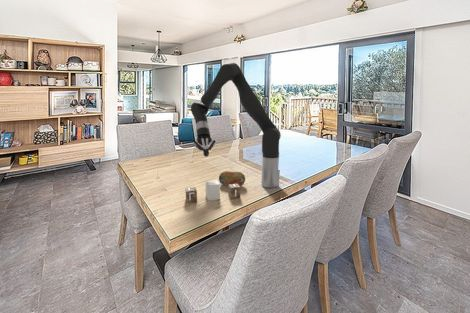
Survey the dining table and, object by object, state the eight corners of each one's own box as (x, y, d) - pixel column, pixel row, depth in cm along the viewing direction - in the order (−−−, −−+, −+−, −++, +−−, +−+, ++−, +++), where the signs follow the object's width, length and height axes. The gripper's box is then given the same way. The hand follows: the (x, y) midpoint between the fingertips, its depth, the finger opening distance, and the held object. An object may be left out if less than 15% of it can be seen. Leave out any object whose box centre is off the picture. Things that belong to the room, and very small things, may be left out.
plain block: (217, 194, 141) (216, 180, 139) (219, 199, 136) (219, 184, 134) (205, 195, 139) (205, 181, 137) (208, 200, 134) (208, 185, 132)
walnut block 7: (195, 198, 136) (195, 186, 135) (197, 202, 131) (196, 190, 130) (185, 199, 135) (185, 187, 133) (186, 203, 130) (186, 191, 129)
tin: (218, 185, 155) (218, 171, 153) (220, 183, 158) (220, 169, 156) (244, 187, 151) (244, 173, 149) (245, 185, 154) (245, 171, 152)
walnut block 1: (237, 194, 142) (237, 183, 140) (240, 198, 137) (240, 186, 135) (228, 195, 140) (228, 184, 139) (230, 199, 136) (230, 187, 134)
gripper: (191, 127, 152) (195, 153, 144) (214, 126, 156) (219, 151, 147) (191, 134, 158) (194, 160, 150) (213, 134, 162) (217, 158, 153)
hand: (206, 155), depth 149 cm, fingers closed
